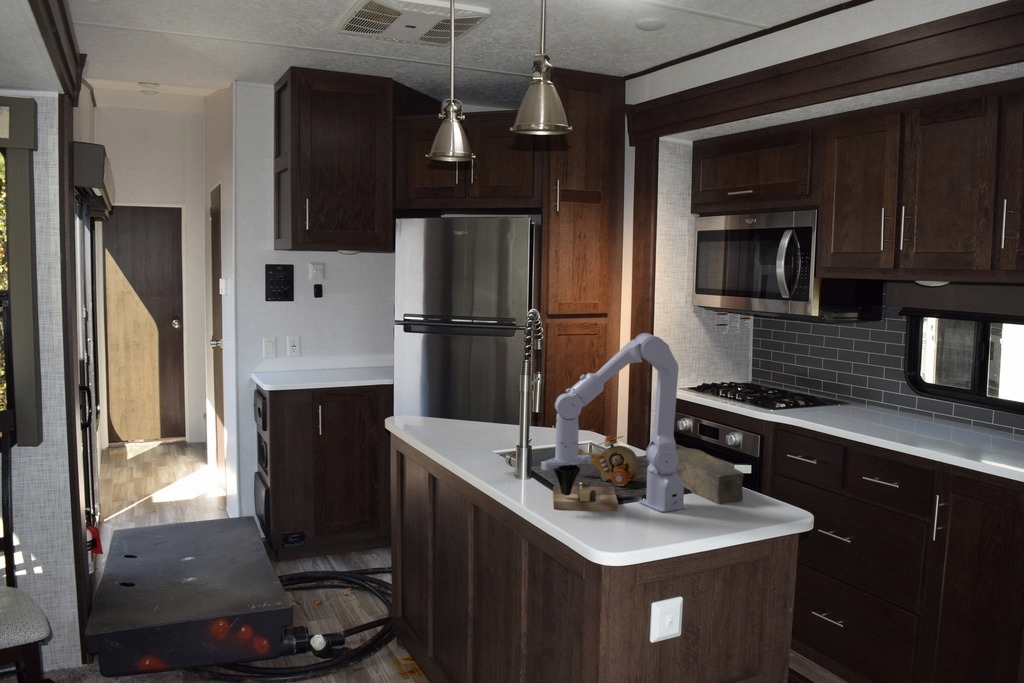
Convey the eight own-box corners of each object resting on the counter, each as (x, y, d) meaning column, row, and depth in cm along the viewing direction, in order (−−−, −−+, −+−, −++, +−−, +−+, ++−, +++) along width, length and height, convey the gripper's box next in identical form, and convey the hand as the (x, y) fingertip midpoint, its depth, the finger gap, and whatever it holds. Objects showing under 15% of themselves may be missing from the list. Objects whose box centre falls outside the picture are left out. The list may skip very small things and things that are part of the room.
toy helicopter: (630, 489, 225) (631, 439, 224) (562, 478, 236) (562, 431, 234) (641, 482, 232) (642, 434, 231) (574, 471, 243) (575, 425, 241)
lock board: (613, 494, 220) (613, 477, 220) (617, 510, 207) (618, 492, 206) (553, 492, 221) (553, 476, 221) (553, 509, 207) (554, 491, 207)
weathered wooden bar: (686, 478, 240) (691, 444, 239) (746, 508, 216) (752, 471, 215) (657, 478, 236) (662, 443, 235) (714, 508, 212) (720, 470, 211)
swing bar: (578, 490, 215) (578, 480, 215) (590, 490, 215) (590, 480, 215) (578, 501, 206) (578, 490, 205) (591, 501, 205) (591, 491, 205)
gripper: (553, 448, 201) (552, 502, 202) (599, 441, 209) (598, 493, 210) (536, 442, 207) (535, 495, 208) (581, 436, 215) (580, 487, 216)
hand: (565, 494), depth 210 cm, fingers closed
